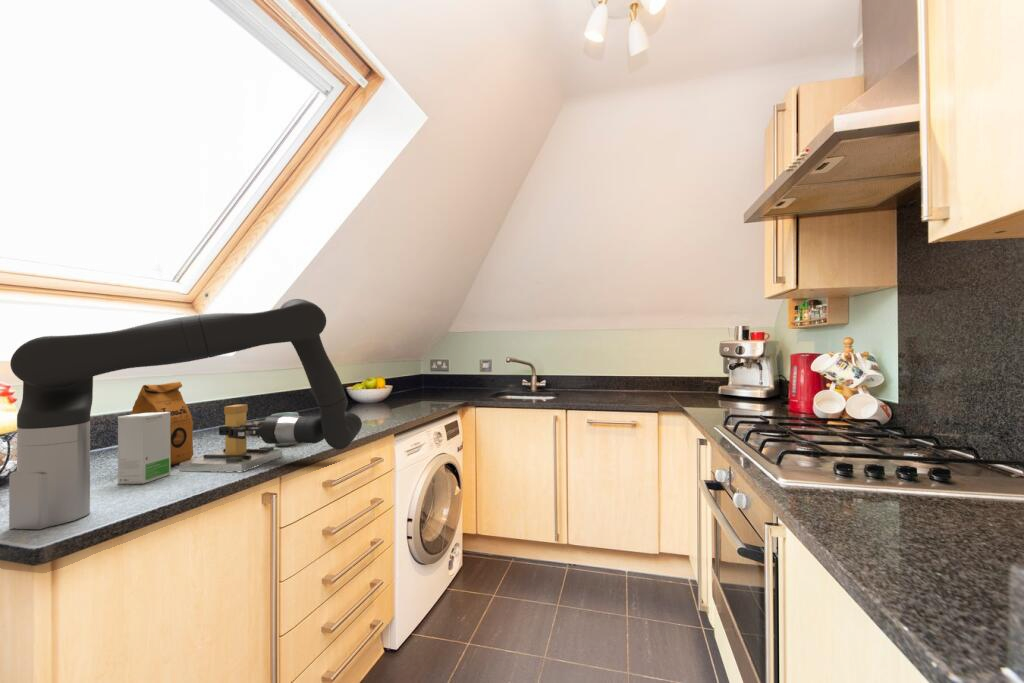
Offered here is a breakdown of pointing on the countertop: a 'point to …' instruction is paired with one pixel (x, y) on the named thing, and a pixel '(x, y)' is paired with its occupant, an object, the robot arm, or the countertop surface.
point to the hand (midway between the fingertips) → (226, 429)
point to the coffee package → (180, 416)
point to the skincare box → (143, 447)
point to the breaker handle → (235, 417)
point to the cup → (286, 414)
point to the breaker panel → (231, 460)
